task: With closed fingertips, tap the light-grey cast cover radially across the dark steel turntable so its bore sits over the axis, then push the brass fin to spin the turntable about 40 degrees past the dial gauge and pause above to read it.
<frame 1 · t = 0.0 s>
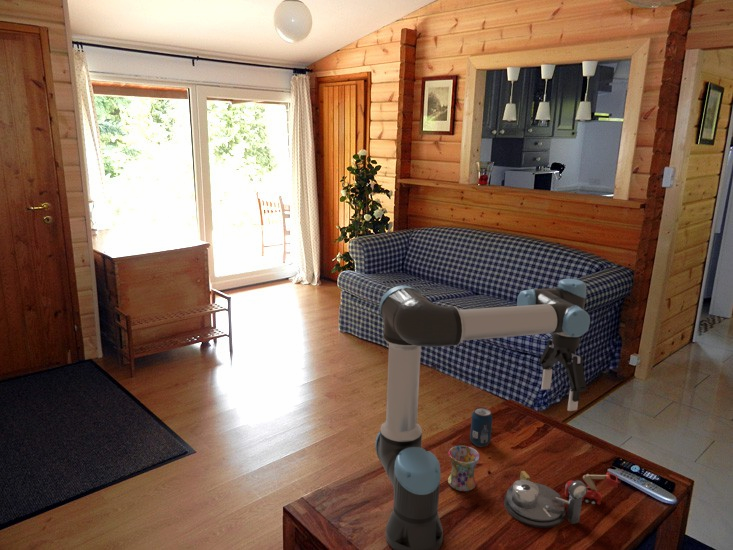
hand: (558, 399, 166), 28 cm above the table, fingers open, 13 cm apart
soda can: (479, 442, 193), on the table
turntable: (535, 495, 160), point 4 cm above the table, hinge at 0.0°, touching cover
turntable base: (534, 507, 161), on the table
mug: (460, 482, 171), on the table
cover: (524, 500, 159), point 3 cm above the table, touching turntable
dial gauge: (572, 520, 156), on the table
toy fire truck: (588, 500, 164), on the table
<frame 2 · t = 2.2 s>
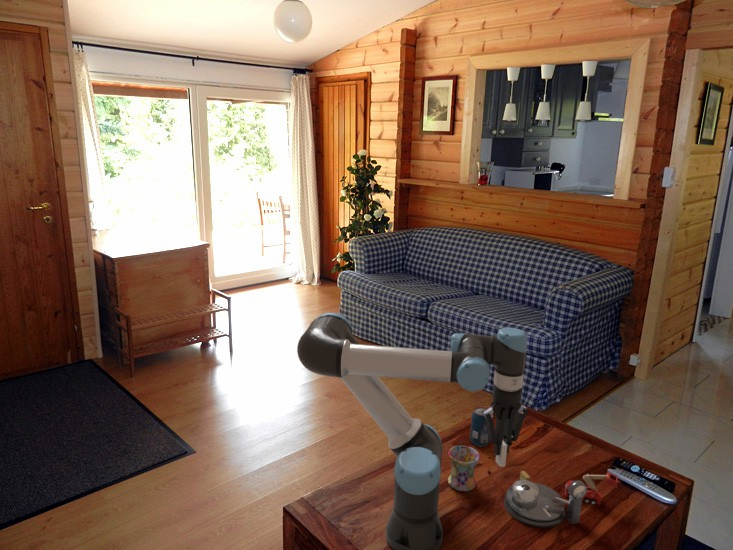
hand: (500, 463, 153), 16 cm above the table, fingers closed
nothing on the table moved.
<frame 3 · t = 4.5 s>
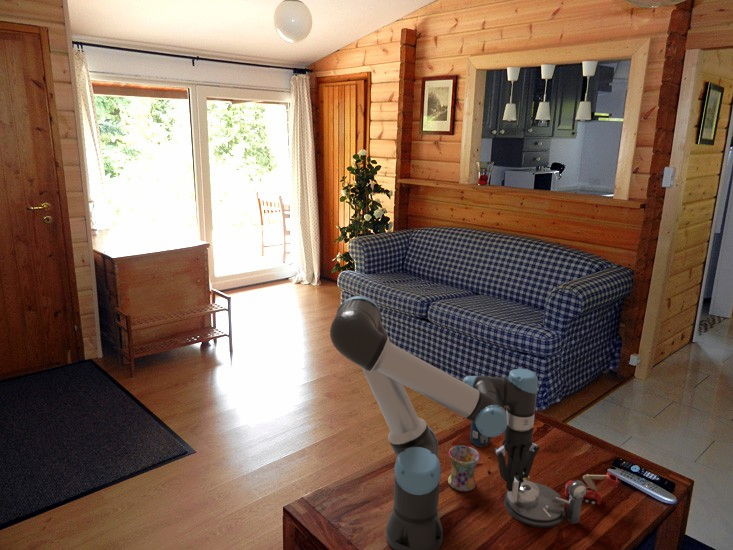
hand: (512, 499, 157), 4 cm above the table, fingers closed
cover: (524, 501, 159), point 3 cm above the table, touching gripper, turntable
everything else where it was.
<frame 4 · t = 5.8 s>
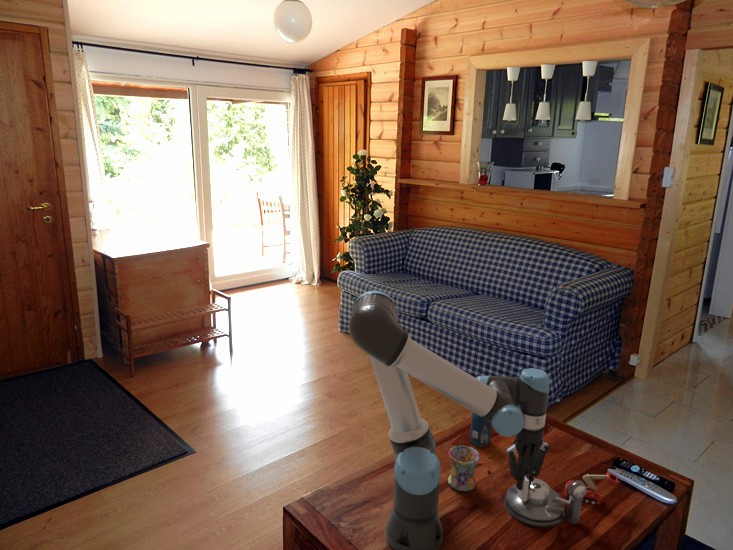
hand: (522, 497, 158), 4 cm above the table, fingers closed
cover: (535, 499, 160), point 3 cm above the table, touching turntable
everything else where it was.
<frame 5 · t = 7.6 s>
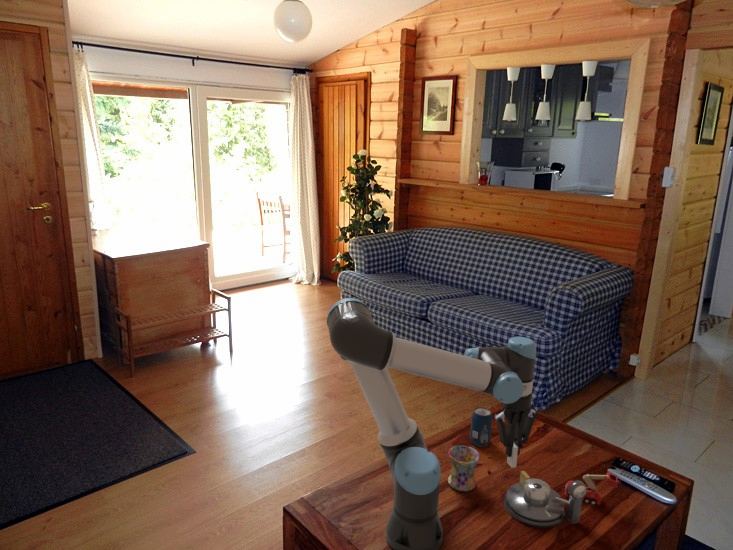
hand: (511, 464, 162), 11 cm above the table, fingers closed
nothing on the table moved.
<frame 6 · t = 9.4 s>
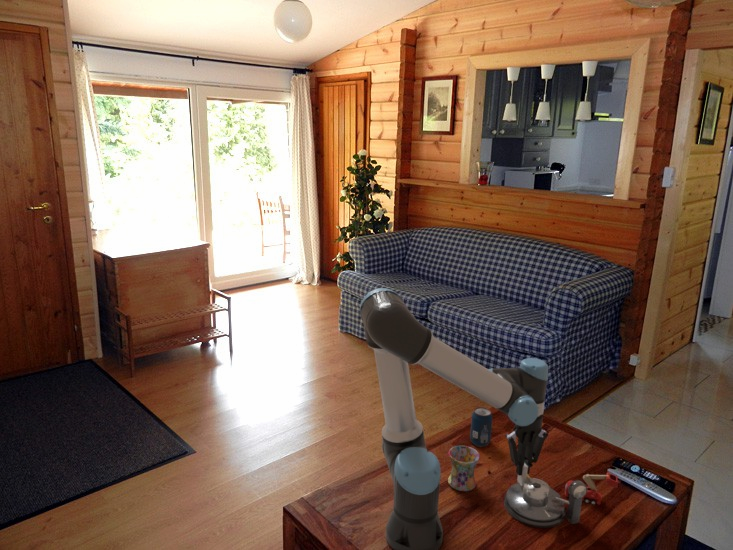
hand: (521, 483, 165), 4 cm above the table, fingers closed
turntable: (535, 495, 160), point 4 cm above the table, hinge at -1.4°, touching cover, gripper
everything else where it was.
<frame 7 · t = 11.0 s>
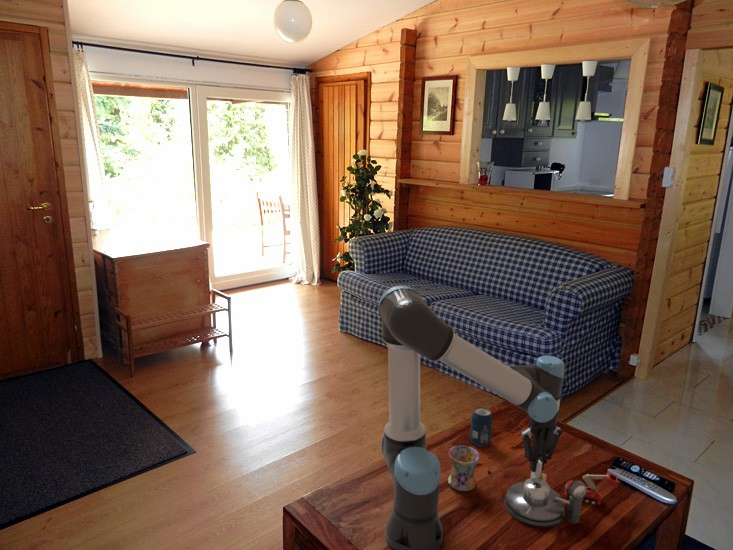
hand: (535, 479, 166), 4 cm above the table, fingers closed
turntable: (535, 495, 160), point 4 cm above the table, hinge at -48.5°, touching cover
everything else where it was.
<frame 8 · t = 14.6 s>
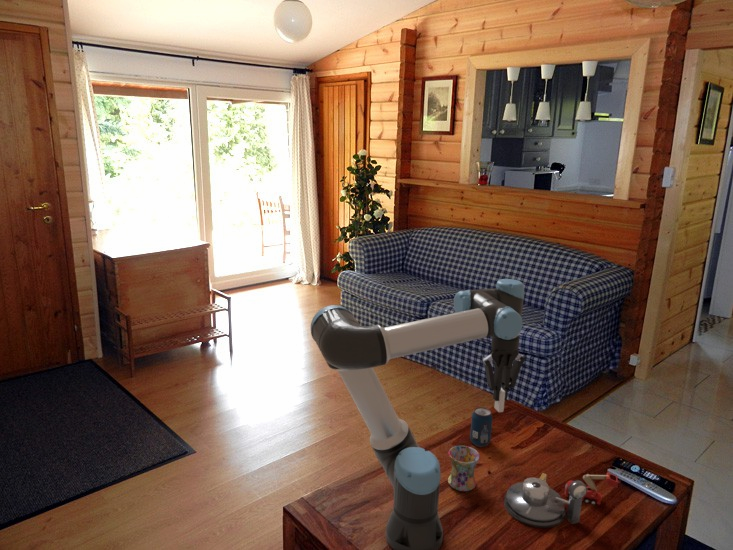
hand: (498, 409, 162), 26 cm above the table, fingers closed
nothing on the table moved.
at the end: cover 0.3 cm from the turntable (horizontally); turntable at -49° (first picture: +0°); cover tilted 0° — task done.
